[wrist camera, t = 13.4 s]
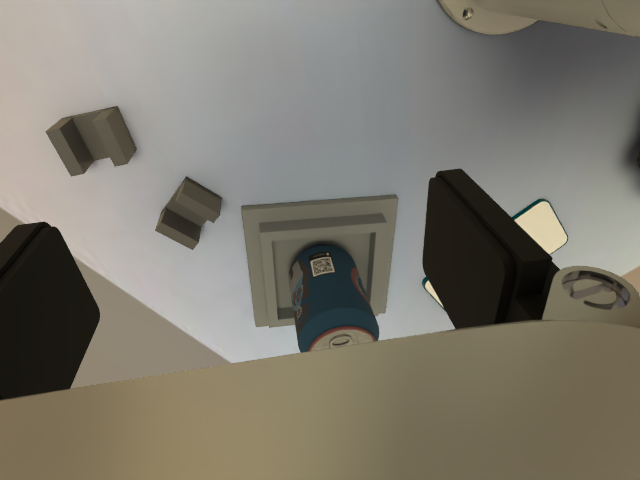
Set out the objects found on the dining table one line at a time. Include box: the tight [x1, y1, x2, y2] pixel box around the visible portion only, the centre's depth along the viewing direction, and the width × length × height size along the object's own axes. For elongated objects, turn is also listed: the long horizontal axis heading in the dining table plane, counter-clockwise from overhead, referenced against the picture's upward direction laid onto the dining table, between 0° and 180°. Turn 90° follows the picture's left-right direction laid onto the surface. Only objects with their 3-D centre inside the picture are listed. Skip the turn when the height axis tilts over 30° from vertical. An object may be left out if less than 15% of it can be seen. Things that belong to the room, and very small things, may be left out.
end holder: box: [242, 195, 398, 328], centre depth 43 cm, size 15×15×3 cm
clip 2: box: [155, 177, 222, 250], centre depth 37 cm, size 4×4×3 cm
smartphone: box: [422, 199, 568, 310], centre depth 47 cm, size 8×1×16 cm
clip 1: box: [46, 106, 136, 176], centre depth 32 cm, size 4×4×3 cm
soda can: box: [289, 244, 379, 353], centre depth 38 cm, size 7×7×12 cm
